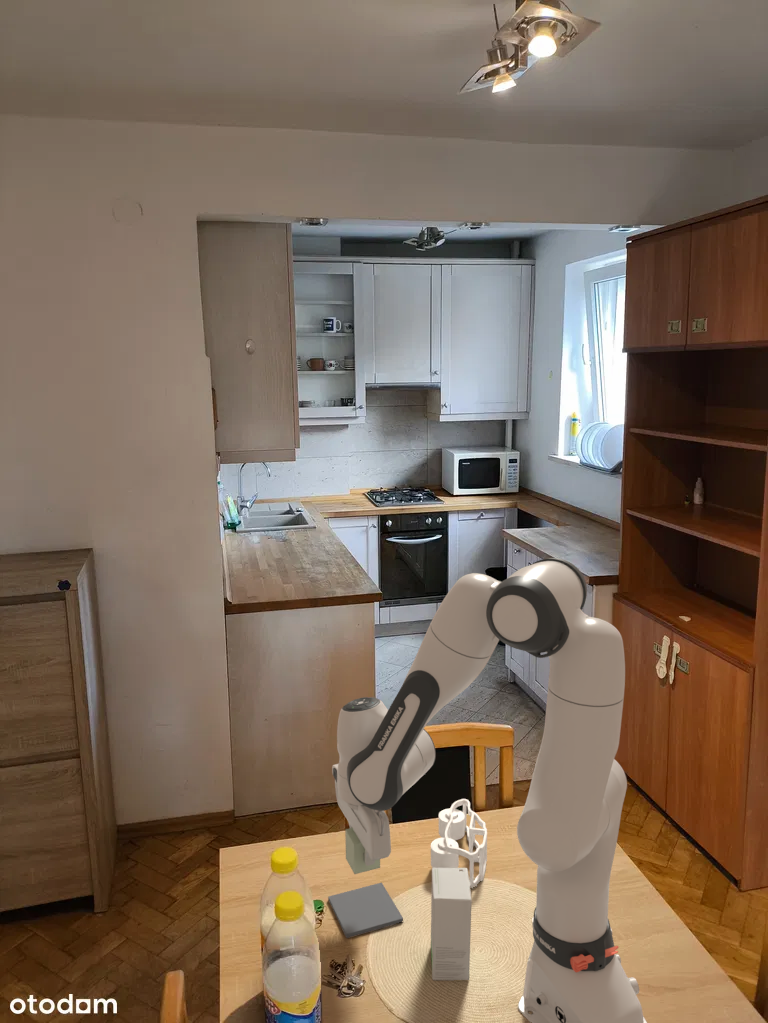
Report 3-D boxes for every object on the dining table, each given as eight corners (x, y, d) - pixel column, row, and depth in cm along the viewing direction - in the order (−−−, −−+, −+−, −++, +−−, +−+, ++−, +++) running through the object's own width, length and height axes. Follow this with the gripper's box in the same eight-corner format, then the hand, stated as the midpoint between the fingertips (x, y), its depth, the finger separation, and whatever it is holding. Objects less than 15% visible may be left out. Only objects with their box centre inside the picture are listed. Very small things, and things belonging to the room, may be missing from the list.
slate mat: (403, 921, 140) (403, 918, 140) (346, 938, 136) (346, 934, 136) (381, 886, 150) (381, 882, 150) (328, 900, 147) (328, 896, 146)
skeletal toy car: (441, 826, 171) (441, 796, 169) (491, 832, 168) (491, 801, 167) (427, 883, 151) (427, 849, 150) (483, 890, 149) (483, 856, 148)
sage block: (380, 867, 141) (379, 838, 139) (354, 874, 139) (354, 844, 138) (370, 852, 145) (370, 823, 144) (345, 858, 143) (345, 829, 142)
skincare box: (430, 945, 134) (430, 865, 132) (468, 946, 134) (468, 865, 132) (432, 982, 126) (431, 897, 124) (472, 983, 126) (472, 898, 123)
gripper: (399, 809, 131) (399, 882, 133) (359, 755, 150) (360, 820, 152) (365, 817, 129) (366, 891, 131) (329, 761, 147) (330, 827, 150)
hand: (362, 852), depth 142 cm, fingers closed on sage block, 5 cm apart
